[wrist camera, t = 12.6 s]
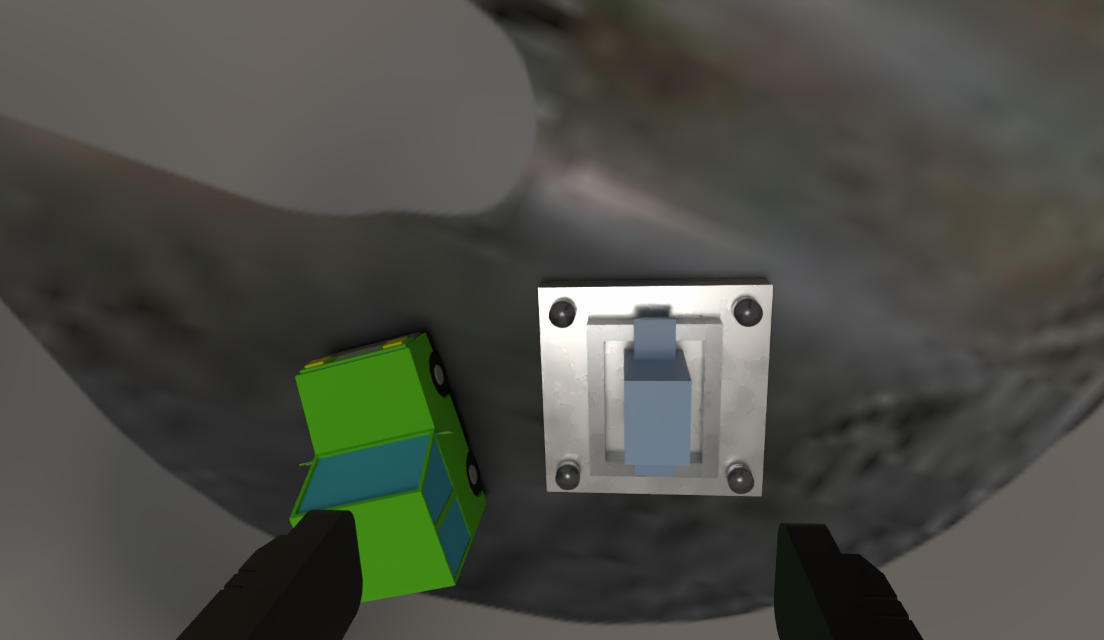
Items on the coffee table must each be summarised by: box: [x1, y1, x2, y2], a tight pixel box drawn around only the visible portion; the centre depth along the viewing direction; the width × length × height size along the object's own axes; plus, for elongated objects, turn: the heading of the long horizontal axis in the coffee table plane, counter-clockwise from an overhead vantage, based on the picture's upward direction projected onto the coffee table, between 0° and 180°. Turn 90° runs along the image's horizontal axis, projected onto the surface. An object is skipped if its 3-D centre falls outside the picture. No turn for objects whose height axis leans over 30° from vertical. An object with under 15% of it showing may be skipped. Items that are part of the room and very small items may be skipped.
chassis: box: [538, 278, 773, 496], centre depth 41 cm, size 14×14×3 cm
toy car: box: [290, 332, 487, 602], centre depth 41 cm, size 10×13×10 cm
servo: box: [624, 317, 692, 476], centre depth 38 cm, size 10×4×6 cm, turn 2°
